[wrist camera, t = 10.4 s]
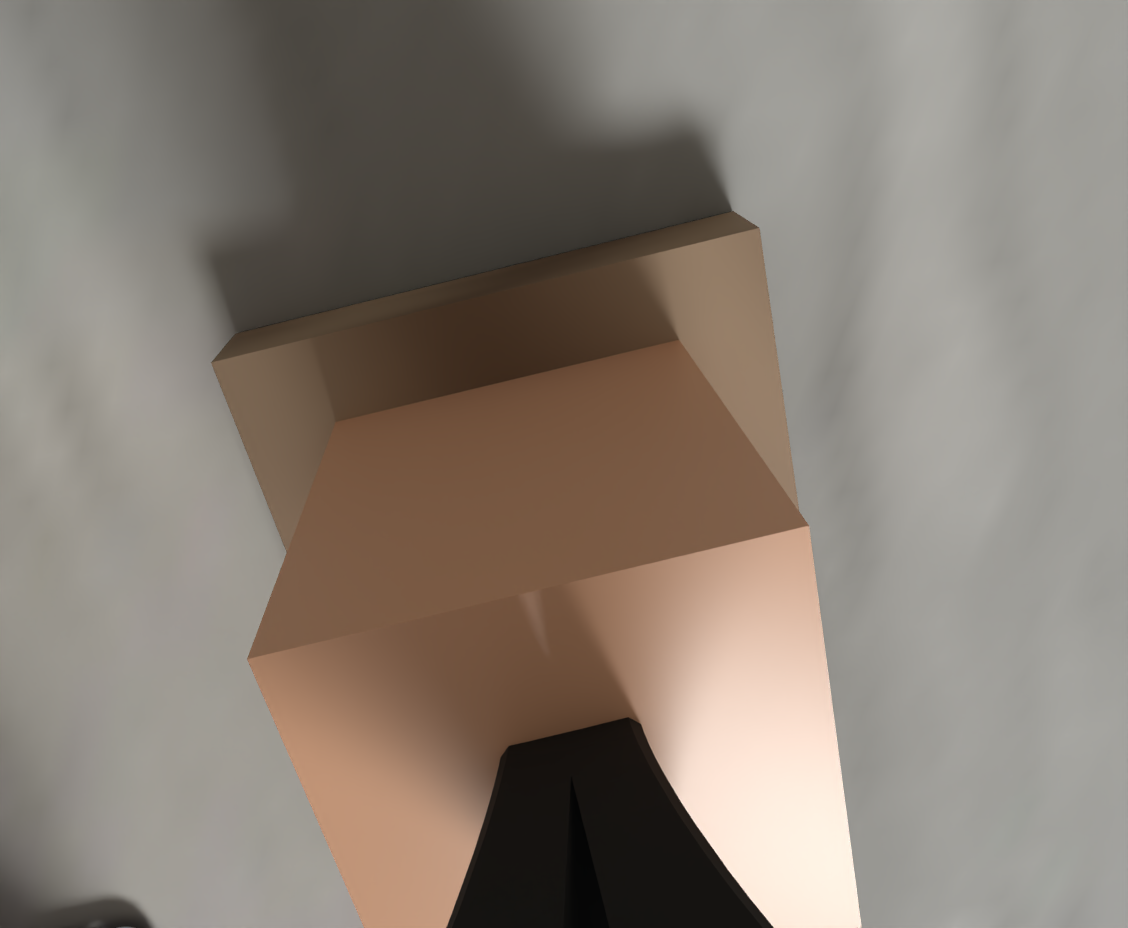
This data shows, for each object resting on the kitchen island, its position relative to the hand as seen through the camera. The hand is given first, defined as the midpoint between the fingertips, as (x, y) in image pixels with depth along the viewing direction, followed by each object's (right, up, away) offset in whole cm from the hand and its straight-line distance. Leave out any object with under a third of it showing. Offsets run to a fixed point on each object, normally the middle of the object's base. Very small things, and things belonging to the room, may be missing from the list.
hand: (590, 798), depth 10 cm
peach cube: (-1, +2, +5) cm, 6 cm away
